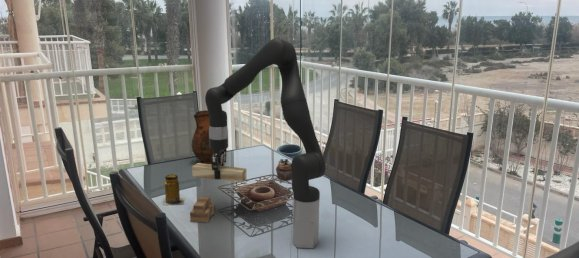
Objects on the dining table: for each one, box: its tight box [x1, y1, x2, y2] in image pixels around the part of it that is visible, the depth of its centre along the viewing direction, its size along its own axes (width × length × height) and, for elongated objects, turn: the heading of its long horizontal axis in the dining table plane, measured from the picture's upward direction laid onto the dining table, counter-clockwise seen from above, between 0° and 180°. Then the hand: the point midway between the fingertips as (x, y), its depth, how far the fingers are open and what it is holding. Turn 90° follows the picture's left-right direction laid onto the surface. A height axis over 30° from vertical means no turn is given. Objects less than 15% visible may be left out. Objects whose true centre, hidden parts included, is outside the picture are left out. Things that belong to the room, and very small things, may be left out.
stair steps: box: [189, 195, 215, 224], centre depth 174 cm, size 10×7×7 cm
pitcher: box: [190, 110, 214, 164], centre depth 241 cm, size 17×21×30 cm
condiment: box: [163, 173, 186, 206], centre depth 189 cm, size 7×8×12 cm
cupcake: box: [275, 158, 292, 182], centre depth 220 cm, size 10×10×10 cm
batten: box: [191, 162, 247, 183], centre depth 175 cm, size 4×22×4 cm, turn 74°
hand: (219, 176), depth 176 cm, fingers closed on batten, 5 cm apart
